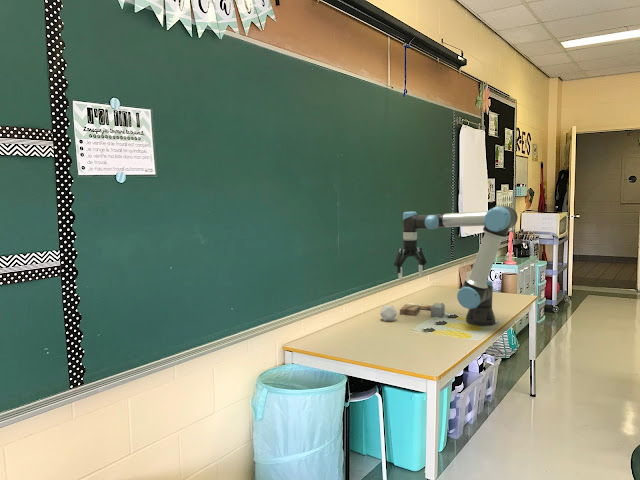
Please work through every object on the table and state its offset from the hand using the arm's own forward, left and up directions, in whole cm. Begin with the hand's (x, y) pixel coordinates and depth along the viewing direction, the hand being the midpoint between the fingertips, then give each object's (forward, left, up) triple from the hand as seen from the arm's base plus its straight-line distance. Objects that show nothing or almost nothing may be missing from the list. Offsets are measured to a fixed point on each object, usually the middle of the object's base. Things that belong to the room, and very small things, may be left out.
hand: (410, 277), depth 279 cm
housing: (-13, -12, -23) cm, 29 cm away
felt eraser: (-7, -23, -23) cm, 33 cm away
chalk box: (+4, -22, -23) cm, 32 cm away
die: (+10, +9, -23) cm, 27 cm away
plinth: (+3, -12, -23) cm, 26 cm away
